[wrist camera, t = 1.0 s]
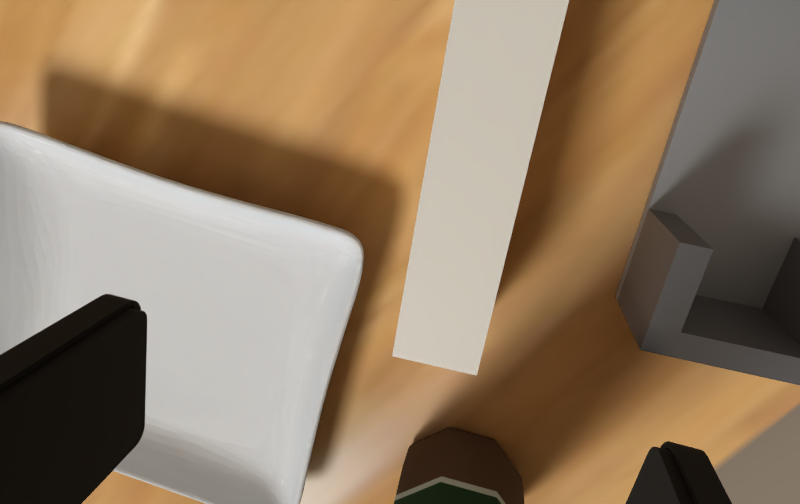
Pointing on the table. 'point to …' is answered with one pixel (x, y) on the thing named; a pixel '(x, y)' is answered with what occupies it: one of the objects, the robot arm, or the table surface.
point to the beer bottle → (458, 472)
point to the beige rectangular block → (475, 175)
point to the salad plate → (185, 309)
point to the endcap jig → (727, 204)
